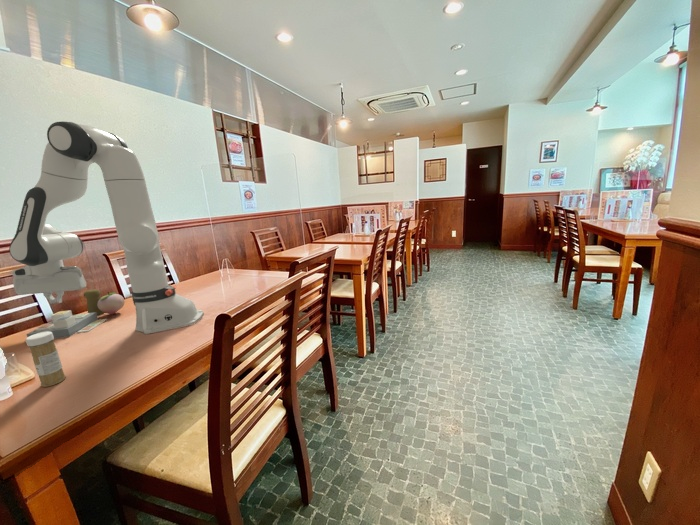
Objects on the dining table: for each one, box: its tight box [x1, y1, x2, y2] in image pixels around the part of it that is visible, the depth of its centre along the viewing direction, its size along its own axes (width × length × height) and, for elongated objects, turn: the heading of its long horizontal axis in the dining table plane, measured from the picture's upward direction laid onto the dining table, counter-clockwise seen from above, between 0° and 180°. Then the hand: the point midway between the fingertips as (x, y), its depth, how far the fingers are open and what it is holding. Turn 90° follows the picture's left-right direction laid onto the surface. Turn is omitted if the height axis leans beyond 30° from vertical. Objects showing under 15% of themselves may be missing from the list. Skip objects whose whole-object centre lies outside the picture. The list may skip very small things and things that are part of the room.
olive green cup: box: [83, 288, 104, 317], centre depth 119 cm, size 6×6×11 cm
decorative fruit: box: [97, 291, 125, 315], centre depth 118 cm, size 9×8×10 cm
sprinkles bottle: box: [25, 331, 67, 388], centre depth 70 cm, size 5×5×13 cm
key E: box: [74, 312, 90, 319], centre depth 109 cm, size 4×4×4 cm
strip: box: [76, 318, 108, 334], centre depth 107 cm, size 4×11×1 cm, turn 14°
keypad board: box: [26, 312, 99, 339], centre depth 105 cm, size 12×16×3 cm
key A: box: [50, 309, 74, 321], centre depth 107 cm, size 4×4×4 cm
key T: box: [34, 323, 54, 331], centre depth 100 cm, size 4×4×4 cm
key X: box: [53, 316, 76, 329], centre depth 101 cm, size 4×4×4 cm
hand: (56, 302), depth 106 cm, fingers closed
